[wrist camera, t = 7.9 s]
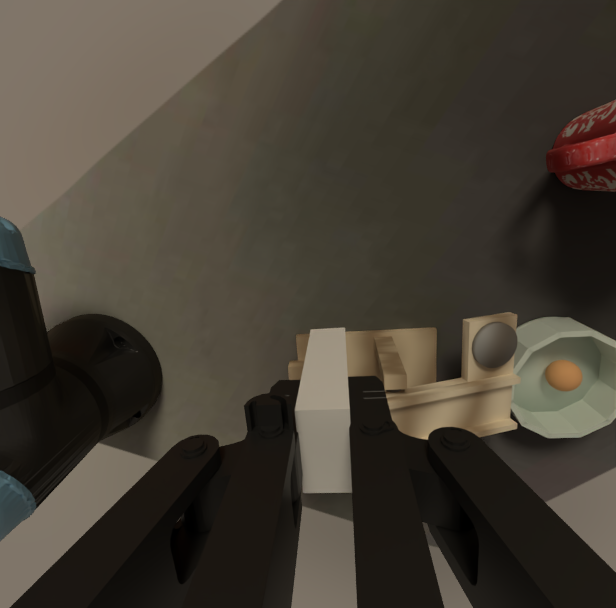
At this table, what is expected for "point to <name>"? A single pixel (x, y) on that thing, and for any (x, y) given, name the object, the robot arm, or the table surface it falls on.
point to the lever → (466, 385)
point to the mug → (587, 151)
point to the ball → (563, 375)
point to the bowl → (563, 404)
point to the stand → (384, 356)
